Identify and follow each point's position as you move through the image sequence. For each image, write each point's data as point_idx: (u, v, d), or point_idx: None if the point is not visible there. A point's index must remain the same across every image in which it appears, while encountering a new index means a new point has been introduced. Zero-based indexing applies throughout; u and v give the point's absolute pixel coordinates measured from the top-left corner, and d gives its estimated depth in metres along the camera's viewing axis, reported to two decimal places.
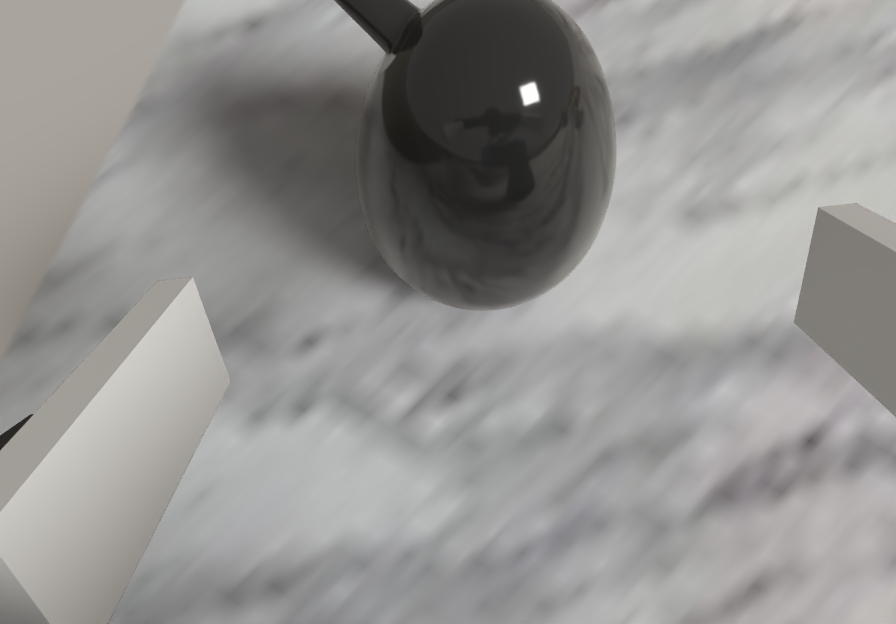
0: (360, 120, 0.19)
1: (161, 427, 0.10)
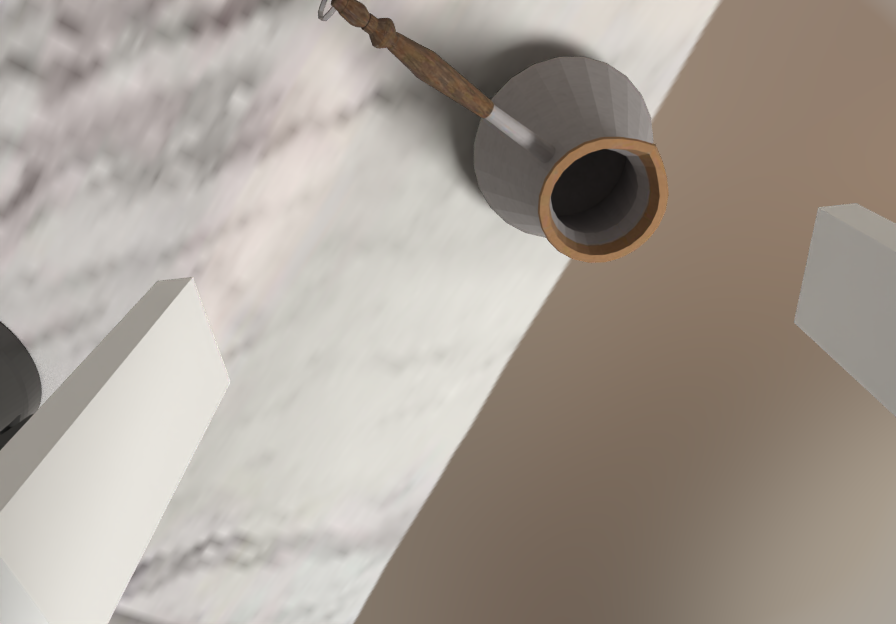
0: None
1: (161, 427, 0.10)
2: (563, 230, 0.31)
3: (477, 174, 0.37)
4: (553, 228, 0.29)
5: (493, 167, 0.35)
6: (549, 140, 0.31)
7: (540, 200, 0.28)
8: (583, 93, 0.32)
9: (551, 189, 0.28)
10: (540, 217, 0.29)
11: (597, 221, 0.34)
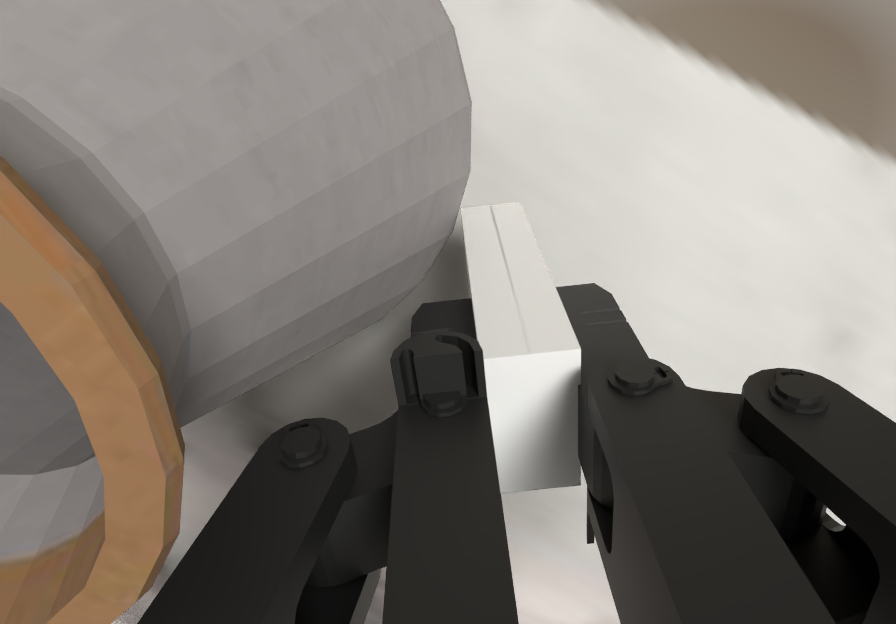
0: None
1: None
2: None
3: None
4: (21, 620, 0.05)
5: None
6: None
7: None
8: None
9: None
10: None
11: None
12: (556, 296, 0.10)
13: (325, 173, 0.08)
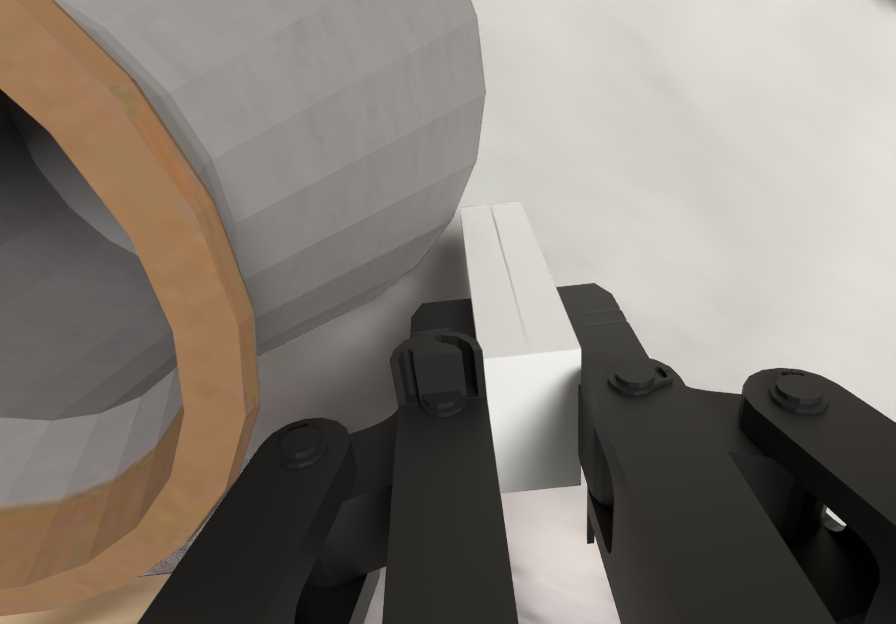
0: None
1: None
2: (157, 417, 0.06)
3: None
4: (53, 561, 0.05)
5: None
6: None
7: None
8: None
9: None
10: None
11: None
12: (556, 296, 0.10)
13: (364, 142, 0.08)
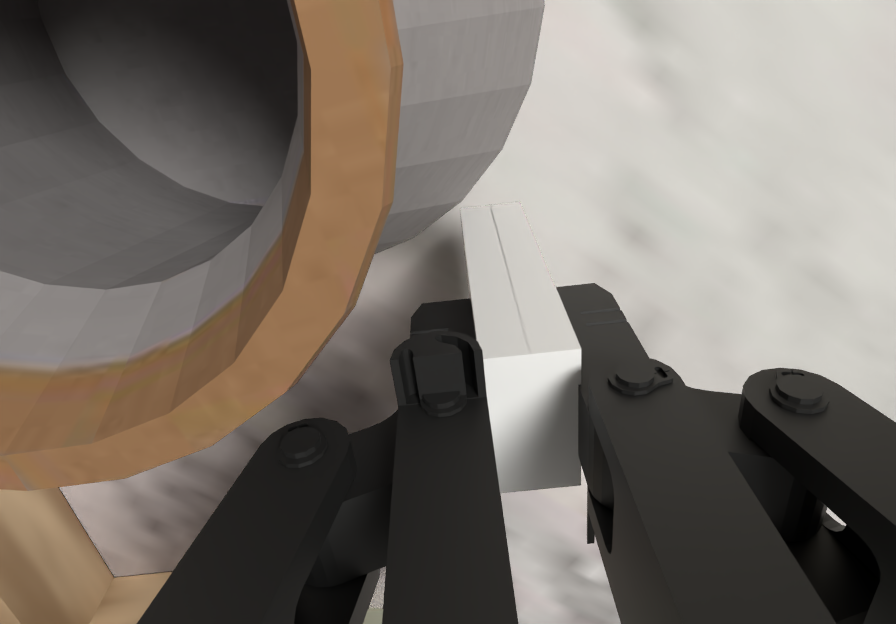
0: None
1: None
2: (189, 305, 0.05)
3: None
4: (45, 434, 0.05)
5: None
6: None
7: None
8: None
9: None
10: None
11: None
12: (556, 296, 0.10)
13: (442, 85, 0.08)
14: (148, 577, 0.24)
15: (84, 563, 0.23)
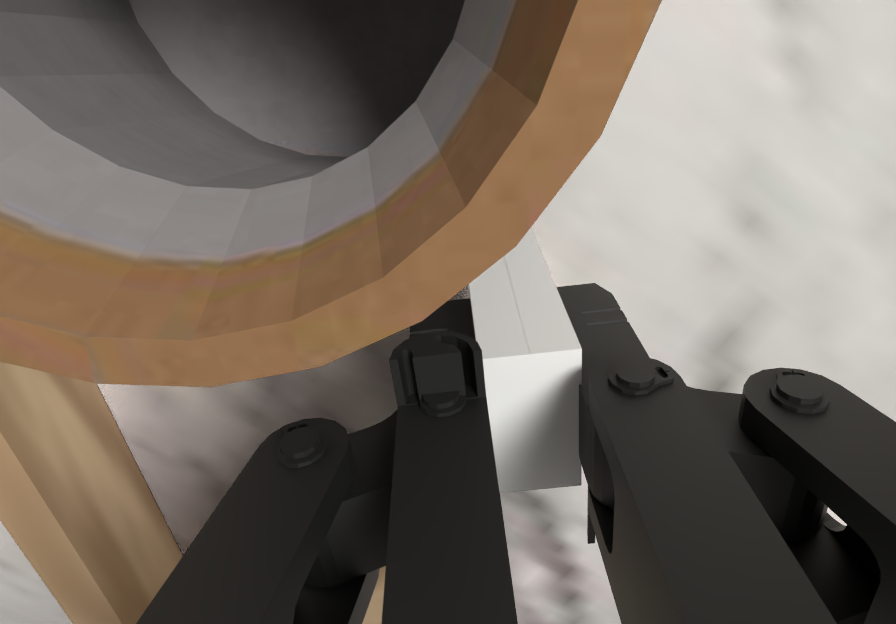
0: None
1: None
2: (293, 217, 0.05)
3: None
4: (133, 322, 0.04)
5: None
6: None
7: None
8: None
9: None
10: (9, 359, 0.04)
11: None
12: (557, 296, 0.10)
13: None
14: None
15: (164, 552, 0.23)
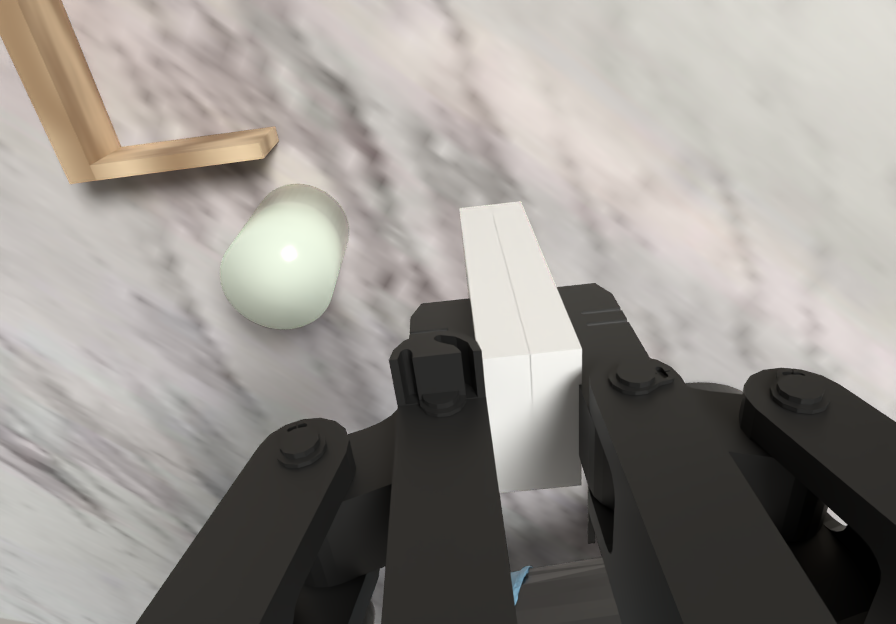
0: None
1: None
2: None
3: None
4: None
5: None
6: None
7: None
8: None
9: None
10: None
11: None
12: (557, 296, 0.10)
13: None
14: (144, 144, 0.37)
15: (102, 118, 0.35)
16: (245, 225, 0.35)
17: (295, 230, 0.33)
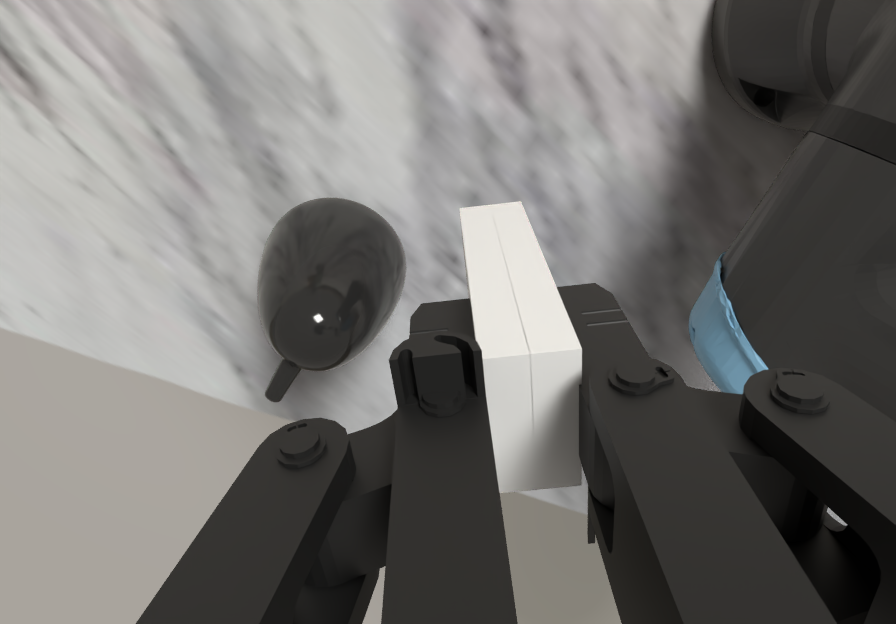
0: None
1: None
2: None
3: None
4: None
5: None
6: None
7: None
8: None
9: None
10: None
11: None
12: (557, 296, 0.10)
13: None
14: None
15: None
16: None
17: None
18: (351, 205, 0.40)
